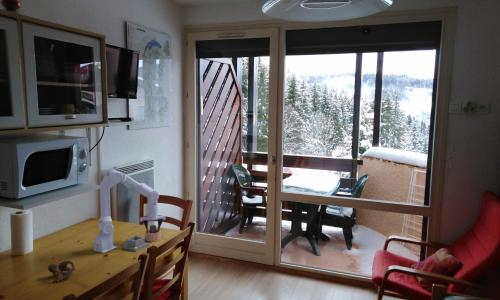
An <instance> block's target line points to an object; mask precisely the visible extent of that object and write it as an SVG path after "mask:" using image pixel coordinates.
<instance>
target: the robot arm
mask: <svg viewBox="0 0 500 300" xmlns="http://www.w3.org/2000/svg"><path fill="white" fill-rule="evenodd" d="M120 182H121V183H127V184H129V185H130V186H132V187H134V188H135V189H136V192H137V193H139V194H141V195H142V196H144V197H146V198H147V216H143V217H139V222H143V225H144V228H145V229H146V230H147V233H148V230H149V228H148V227H149V223H148V222H150V221H152V222H153V221H157V229H158V232H159V230H161V229H160V228H161V226H162V224H163V221H166V215H159V213H158V210H159V208H158V206H159V205H158V204H159V203H158V200H159V198H160V194H159V192H158V191H156V190H154V188H153V187H150V186H149V185H148V184H147V183H146V182H138V181H137V180H135V179H134V178H132V177H130V176H129V175H128V174H125V173H123V172H121V171H118V170H116V169H113V168H112V169H109V170H108V171H107V172H106V173H105V174H104V177H103V179H102V180H101V182H100V184H99V190H100V191H99V195H100V217H99V221H98V224H97V227H98V229H99V232H98V235H97V236H95V237H94V242H93V243H94V246H93V247H94V249H93V251H94V252H98V253H101V254H104V253H108V252H109V251H113V250H114V249H117V248H118V247H117V246H116V245H114V230H115V227H114V224H113V220H112V216H111V215H112V213H111V211H112V210H111V188H112V187H114V186H115V185H117V184H119V183H120ZM146 230H145V231H146Z"/></svg>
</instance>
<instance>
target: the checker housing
mask: <svg viewBox="0 0 500 300" xmlns="http://www.w3.org/2000/svg"><path fill="white" fill-rule="evenodd" d="M135 240H136V241H135ZM145 241H146V240H145V236H144V237H143V236H139V235H133V236H131V237H128V238H126V243H125V244H123V245H122V249H124V250H128V251H132V252H138V251H140V250H143V249H145V248H147V247H149V246H150V242H147V241H146V242H145Z"/></svg>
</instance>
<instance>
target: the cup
mask: <svg viewBox="0 0 500 300" xmlns="http://www.w3.org/2000/svg"><path fill="white" fill-rule="evenodd" d="M144 238H145V241H146V242H147V243H154V242H159V241H160V240H161V239H162V231H161V229H160V230H159V232H158V228H156V233H150V228H148V233H147V230H145V232H144Z"/></svg>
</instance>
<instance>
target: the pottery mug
mask: <svg viewBox="0 0 500 300" xmlns="http://www.w3.org/2000/svg"><path fill="white" fill-rule="evenodd" d="M68 265H71V267H68ZM47 270H48V272H50V273H52V275H53V276H56V275H57V276H58V278H57V280H58V281H60V280H61V281H63V279H66V278H69V277H70V276H72V275H73V274H74V272H75V271H76V267H75V264H74V263H73V262H72V261H71V260H66V259H65V260H62V261H59V262H58V263H57V264H55V263H50V264H49V265H48V266H47Z"/></svg>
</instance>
